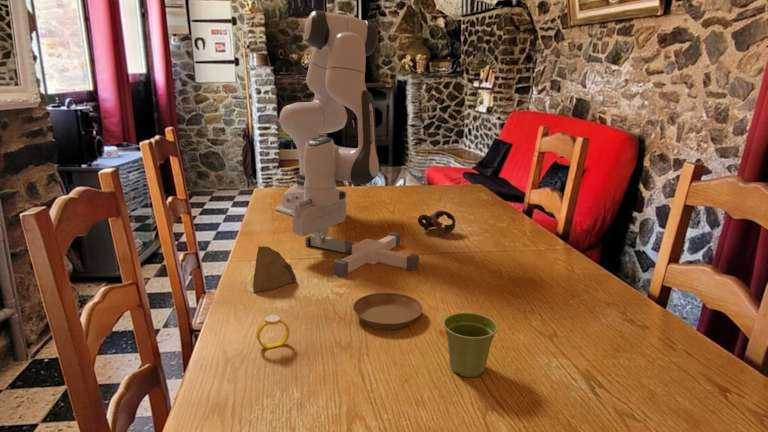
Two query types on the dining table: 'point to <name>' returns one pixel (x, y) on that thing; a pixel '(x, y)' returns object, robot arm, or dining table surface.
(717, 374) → the dining table surface
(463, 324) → the plant pot
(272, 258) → the rock
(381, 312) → the plant saucer
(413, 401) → the dining table surface
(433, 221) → the pottery mug
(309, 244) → the leg socket
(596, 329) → the dining table surface
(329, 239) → the hinged leg
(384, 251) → the stool base
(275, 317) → the gold ring
